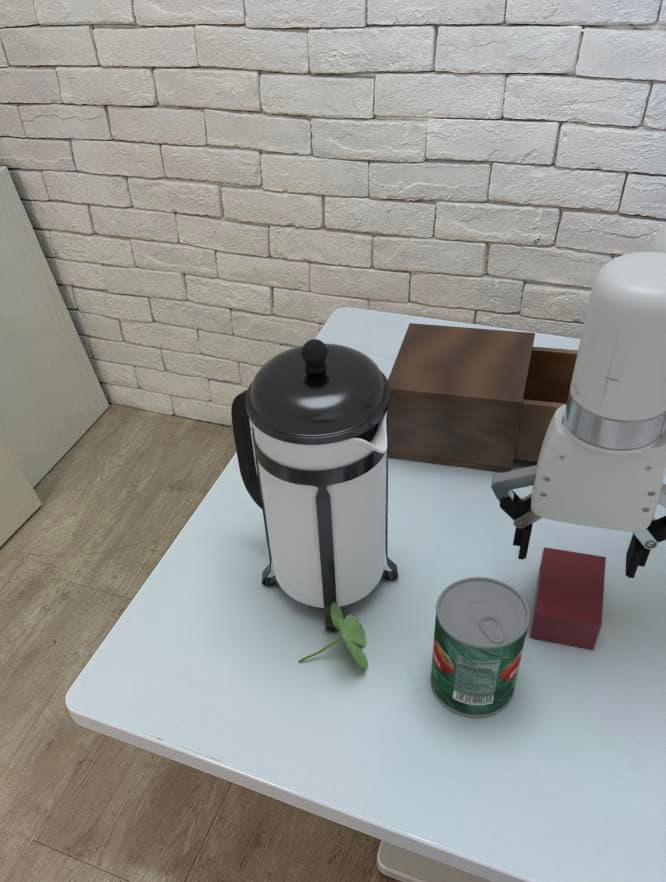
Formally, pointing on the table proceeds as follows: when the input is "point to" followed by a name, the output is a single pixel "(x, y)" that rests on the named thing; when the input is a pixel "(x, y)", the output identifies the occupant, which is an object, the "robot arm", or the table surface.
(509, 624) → the canned tomato
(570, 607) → the maroon rectangular block
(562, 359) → the drawer
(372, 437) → the coffee press
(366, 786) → the table surface
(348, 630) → the seedling
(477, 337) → the cabinet
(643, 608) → the table surface
